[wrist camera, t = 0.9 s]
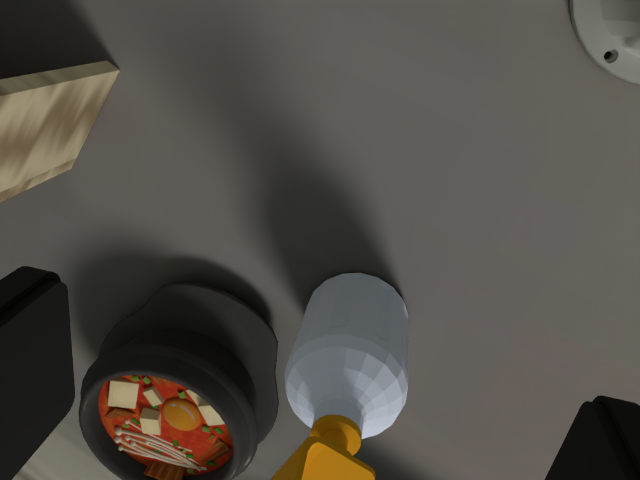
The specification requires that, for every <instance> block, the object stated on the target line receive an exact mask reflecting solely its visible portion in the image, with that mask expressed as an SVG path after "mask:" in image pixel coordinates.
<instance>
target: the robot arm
mask: <svg viewBox="0 0 640 480" xmlns="http://www.w3.org/2000/svg"><path fill="white" fill-rule="evenodd" d="M569 7H570V13H571V20H572V26H573V28H574V31H575V34H576V36H577V39H578V42H579V43H580V45H581V46H582V48H583V49H584V51H585V52H586V54H587V55H588V57H589V58H590V59H592V60H593V61H594V62H595V63H596V64H597V65H598V66H599V67H600V68H601V69H603V70H605V71H606V72H608V73H610V74H611V75H613V76H615V77H618V78H620V79H623V80H625V81H628V82H633V83H637V84H640V0H570V3H569ZM607 51H609V52H610V56H609V58H607V59H605V58H604V54H605V53H606V52H607ZM74 398H75V386H74V372H73V358H72V344H71V331H70V317H69V303H68V290H67V286H66V285H65V284H64V283H63V282H61V280H60V277H59V276H58V274H56V273H54V272H50V271H46V270H42V269H37V268H33V267H28V266H22V267H20V268H18V269H16V270H15V271H13V272H12V273H10V274H9V275H7V276H6V277H4V278H3V279H1V280H0V480H12V479H13V477H14V476H15V475H16V474H17V473H18V471H19V470H20V469H21V468H22V467H23V466H24V464H25V463H26V462H27V461H28V460H29V458H30V457H31V456H32V455H33V454H34V453H35V451H36V450H37V449H38V448H39V447H40V445H41V444H42V443H43V442H44V441H45V440H46V438H47V437H48V436H49V435H50V434H51V432H52V431H53V430H54V429H55V428H56V427H57V425H58V424H59V423H60V422H61V421H62V419H63V418H64V417H65V416H66V415H67V413H68V412H69V411H70V409H71V407H72V404H73V402H74ZM545 480H640V406H639V405H638V404H636V403H633V402H629V401H624V400H620V399H615V398H611V397H606V396H597V397H596V398H595V399H594V400H593V402H589V401H587V402H584V403H583V404H582V406H581V407H580V409H579V411H578V413H577V415H576V417H575V419H574V421H573V423H572V425H571V427H570V429H569V432H568V434H567V436H566V438H565V440H564V442H563V444H562V446H561V448H560V450H559V452H558V454H557V456H556V458H555V460H554V462H553V464H552V466H551V468H550V470H549V472H548V474H547V476H546V478H545Z"/></svg>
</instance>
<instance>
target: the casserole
mask: <svg viewBox="0 0 640 480" xmlns="http://www.w3.org/2000/svg"><path fill="white" fill-rule="evenodd" d="M277 348H278V341H277V339H276V336H275V334H274V331H273V329H272V327H271V326H270V325H269V324H268V323H267V321H266V320H265V319H264V318H263V317H262V316H261V315H260V314H259V313H257V312H256V311H255V310H254V309H253V308H251V307H250V306H249V305H248V304H246V303H244V302H243V301H241V300H239V299H238V298H236V297H234V296H233V295H231V294H229V293H226V292H224V291H221V290H219V289H216V288H214V287H211V286H207V285H202V284H198V283H193V282H174V283H171V284H168V285H165V286H162V287H161V288H160V289H159V290H158V291H157V292H156V293H155V294H154V295H153V296H152V297H151V298H150V299H149V300H148V301H147V303H146V304H145V305H144V306H143V307H142V308H141V309H139V310H138V311H136V312H135V313H133V314H132V315H130V316H129V317H127V318H126V319H124V320H123V321H121V322H120V323H118V324H117V325H115V327H114V328H113V329H112V330H111V331H110V332H109V333H108V335H107V336H106V338H105V340H104V342H103V344H102V346H101V348H100V354H99V358H98V359H97V360H96V361H95V362H94V363H93V364H92V365H91V366H90V368H89V369H88V371H87V373H86V375H85V377H84V379H83V382H82V388H81V401H80V407H79V423H80V427H81V430H82V434H83V437H84V439H85V440H86V442H87V444H88V446H89V448H90V449H91V451H92V452H93V453H94V455H95V456H96V457H97V458H98V460H99V461H100V462H101V463H102V464H103V465H104V466H106V467H107V468H108V469H109V470H110V471H111V472H112V473H114V474H115V475H117V476H118V477H119V478H121V479H122V480H231V479H234V478H235V477H236V476H238V475H239V474H240V473H242V472H243V471H244V470H245V469H246V468H247V466H248V465H249V464H250V462H251V461H252V460H253V457H254V455H255V452H256V450H257V445H258V444H259V443H260V442H261V441H263V440H264V438H265V437H266V436H267V434H268V433H269V432H270V431H271V429H272V427H273V425H274V422H275V420H276V417H277V412H278V404H279V401H278V392H277V384H276V377H275V368H276V361H277Z"/></svg>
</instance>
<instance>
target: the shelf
mask: <svg viewBox="0 0 640 480" xmlns="http://www.w3.org/2000/svg"><path fill="white" fill-rule="evenodd" d="M119 71H120V70H119V69H118V68H117V67H115V66H114V65H113V64H111V63H110V62H108V61H101V62H95V63H90V64H84V65H79V66H73V67H67V68H62V69H56V70H51V71H45V72H39V73H34V74H28V75H22V76H17V77H11V78H6V79H0V202H2V201H4V200H6V199H8V198H10V197H13V196H15V195H17V194H19V193H21V192H23V191H25V190H27V189H29V188H31V187H33V186H36V185H38V184H40V183H42V182H44V181H46V180H48V179H50V178H52V177H54V176H57V175H59V174H61V173H63V172H65V171H67V170H69V169H71V168H72V166H73V164H74V162H75V160H76V158H77V156H78V154H79V152H80V150H81V148H82V146H83V144H84V142H85V140H86V138H87V136H88V134H89V132H90V130H91V128H92V126H93V124H94V122H95V120H96V118H97V116H98V114H99V112H100V110H101V108H102V106H103V103H104V101H105V99H106V97H107V95H108V93H109V91H110V89H111V87H112V85H113V83H114V81H115V79H116V77H117V75H118V73H119Z"/></svg>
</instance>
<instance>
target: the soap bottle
mask: <svg viewBox="0 0 640 480" xmlns="http://www.w3.org/2000/svg"><path fill="white" fill-rule="evenodd" d="M407 389H408V313H407V310H406V306H405V303H404V301H403V299H402V298H401V297H400V295H399V294H398V293H397V292H396V290H395V289H394V288H393V287H392V286H390V285H389V284H387V283H386V282H384V281H383V280H381V279H380V278H378V277H375V276H371V275H367V274H363V273H345V274H340V275H338V276H335V277H333V278H330V279H328V280H326V281H324V282H323V283H322V284H321V285H320V286H319V287H318V288H317V289H316V290H314V292H313V294H312V296H311V298H310V300H309V302H308V305H307V307H306V310H305V313H304V316H303V319H302V322H301V325H300V328H299V330H298V333H297V336H296V339H295V342H294V345H293V348H292V351H291V353H290V356H289V359H288V362H287V365H286V368H285V390H286V395H287V398H288V400H289V402H290V405H291V407H292V410H293V411H294V413H295V414H296V415H297V416H298V417H299V418H300V419H301V420H302V421H303V422H304V423H305V424H306V425H307V426H309V427H311V428H312V430H311V434H310V435H311V437H308V438H307V439H306V440H305V441H304V442H303V443H302V445H301V446H300V447H299V448H298V449H297V450H296V451H295V452H294V454H293V455H292V456H291V457H290V458H289V459H288V460H287V461H286V463H285V464H284V465H283V466H282V467H281V468H280V469H279V470H278V471H277V473H276V474H275V475H274V476H273V477H272V479H271V480H375V471H374V470H373V468H372V467H370V466H369V465H367V464H365V463H364V462H362V461H360V460H359V459H357V458H355V457H353V455H354V454H356V453H357V452H358V450H359V448H360V447H361V439H364V438H367V437H371V436H375V435H378V434H379V433H381V432H382V431H384V430H385V429H387V428H388V427H389V426H391V425H392V424H393V422H394V421H395V419H396V417H397V416H398V414H399V413H400V411H401V410H402V408H403V407H404V405H405V403H406V396H407Z"/></svg>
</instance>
